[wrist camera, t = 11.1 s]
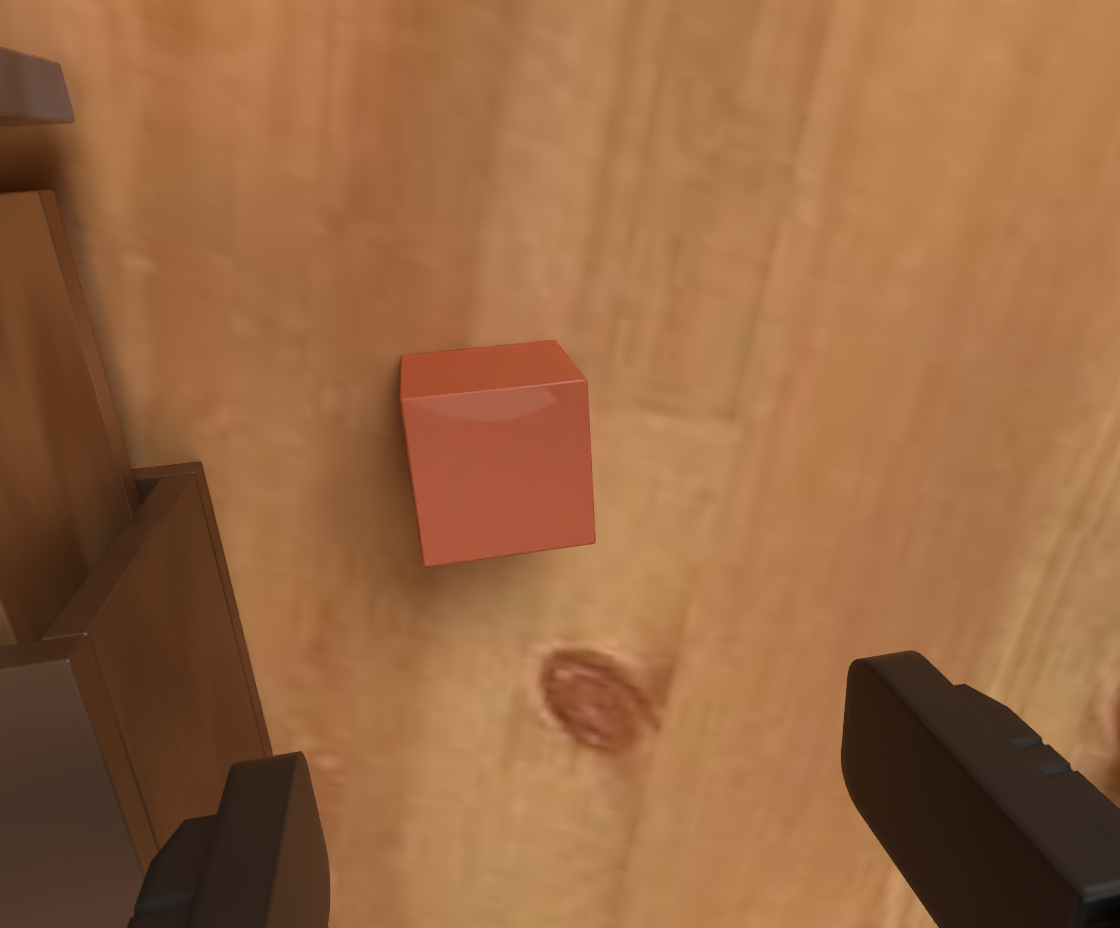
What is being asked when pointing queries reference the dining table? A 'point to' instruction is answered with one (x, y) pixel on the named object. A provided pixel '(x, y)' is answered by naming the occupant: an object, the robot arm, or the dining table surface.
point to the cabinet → (123, 714)
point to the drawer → (49, 392)
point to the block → (497, 451)
